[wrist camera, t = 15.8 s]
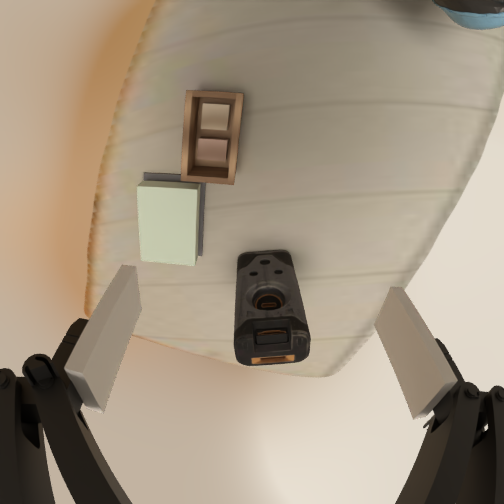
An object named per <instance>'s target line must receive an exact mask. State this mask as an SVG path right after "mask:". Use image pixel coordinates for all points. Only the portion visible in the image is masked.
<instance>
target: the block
mask: <svg viewBox="0 0 504 504" xmlns="http://www.w3.org/2000/svg"><path fill="white" fill-rule="evenodd" d="M200 185H201V184H197V183H182V182H164V181H142V182H141V183H140V184H139V185H138V186H137V204H138V224H139V239H140V251H141V261H149V262H159V263H169V264H179V265H190V266H195V265H196V261H197V258H198V231H199V205H200Z"/></svg>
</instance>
